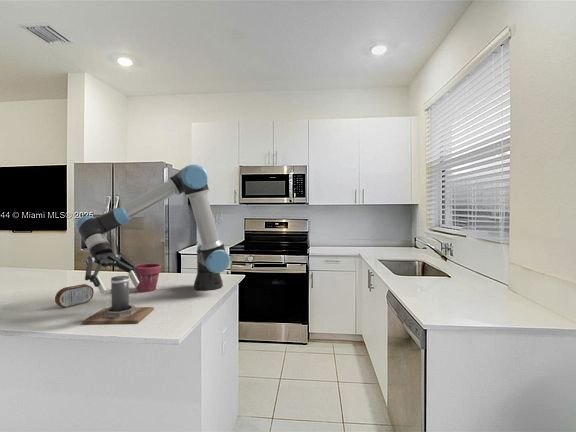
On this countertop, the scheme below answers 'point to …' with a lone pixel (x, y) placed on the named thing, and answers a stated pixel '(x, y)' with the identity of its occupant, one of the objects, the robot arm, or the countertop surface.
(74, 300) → the tin
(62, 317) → the countertop surface
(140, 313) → the mount board
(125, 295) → the dome-topped grey cylinder
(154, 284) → the plant pot
